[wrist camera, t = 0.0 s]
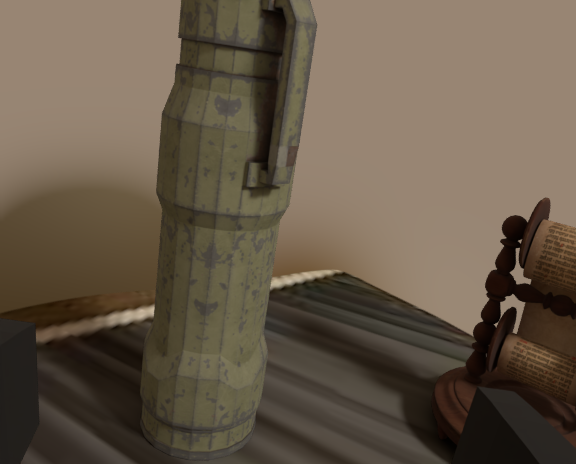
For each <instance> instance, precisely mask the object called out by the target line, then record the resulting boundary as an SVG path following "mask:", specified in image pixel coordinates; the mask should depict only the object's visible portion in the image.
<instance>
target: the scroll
mask: <svg viewBox="0 0 576 464" xmlns="http://www.w3.org/2000/svg"><path fill="white" fill-rule="evenodd" d="M549 213H550V200H549V198H544V199H543V200H541V201H540V202H539V203H538V204H537V206H536V207H535V209H534V211H533V212H532V214H531V217H530V219H529V221H528V222H527V221H526V220H525V219H524V218H523V217H521V216H517V215H514V216H510V217H508V218H507V219H506V220H505V221H504V223H503V225H502V231H503V234H504V235H505V237H506V239H501V241H500V242H501V243H502V244H503V245H504V247H503V249H502V250H501V252H500V254H499V255H498V257H497V259H496V262H495V265H496V268H497V270H493V271H491V272H490V274H489V275H488V278H487V280H486V283H485V288H486V290H487V292H488V293H487V294H486V295H487V297H488V298H489V301H488V302H487V304H486V305H485V306H484V308H483V310H482V312H481V318H482V319H483V322H480V323H478V324H477V325H476V326H475V328H474V330H473V335H474V338H475V340H476V341H477V342H475V343H473V344H472V347H473V349H475V351H474V352H473V353H472V354H471V356H470V357H469V358H468V360H467V362H466V366H465V367H459V368H455V369H452V370H450V371H448V372H446V373H444V374H443V375H442V376H441V377H440V378H439V379H438V380H437V382H436V384H435V387H434V392H433V395H432V400H431V404H432V410H433V413H434V416H435V418H436V420H437V422H438V435H439V437H440V439H446V438H447V437H449V438H450V439H451V440H452V441H453V442H454V443H455V444H456V445H458V442H459V439H460V436H461V433H462V430H463V427H464V424H465V421H466V418H467V415H468V412H469V409H470V406H471V403H472V400H473V397H474V395H475V392H476V389H477V386H478V387H485V388H492V389H499V390H506V391H513V392H515V393H517V394H518V395H519V396H520V397H521V398H522V399H524V400H525V401H526V402H527V403H528V404H529V405H530V406H532V407H533V408H534V409H535V410H536V411H537V412H538V413H539V414H540V415H541V416H542V417H543V418H545V419H546V420H547V421H548V422H549V423H550V424H551V425H552V426H553V427H554V428H555V429H556V430H557V431H558V432H559V433H560V434H561V435H562V436H564V437H565V438H566V439H567V440H568V441H569V442H570V443H571V444H572V445H573V446H574V447H575V448H576V228H575V227H571V226H567V225H563V224H560V223H556V222H553V221H549V220H548V218H549ZM521 239H522V242H521V244H520V243H519V242H518V240H521ZM516 248H520V251H519V264H520V266H521V268H523V269H524V272H523V275H524V277H526V278H528V279H531V284H530V285H529V284H526V283H524V284H518V285H517V284H516V281H515V280H514V278H513V276H512V275H511V274H510V273H509V272H511V271H512V270H513V269H514V268H515V265H516ZM512 294H514V295H515V296H516V297H517V298H518V300H520V301H522V302H526V303H525V307H524V310H523V314H522V318H521V321H520V325H519V328H518V332H517V334H515V333H512V332H513V329H514V325H515V321H516V314H517V311H516V308H515V307H511V308H510V309H508V310H507V311H506V312H505V313H504V314H503V316H502V317H501V319H500V316H501V310H500V302H502V301H505V299H506V298H505V297H506V296H511V295H512ZM499 319H500V321H499ZM498 321H499V323H498V325H497V327H495V325H494V324H495V323H497V322H498ZM488 345H489V346H488ZM486 353H487V357H486Z"/></svg>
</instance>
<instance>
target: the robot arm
mask: <svg viewBox="0 0 576 464" xmlns="http://www.w3.org/2000/svg"><path fill="white" fill-rule="evenodd" d="M38 425H39V402H38V377H37V353H36V328H35V323H30V322H23V321H16V320H9V319H2V318H0V464H20V463H21V461H22V459H23V457H24V455H25V453H26V451H27V449H28V446H29V444H30V442H31V440H32V438H33V436H34V434H35V432H36V430H37V427H38ZM451 464H576V448H575V447H574V446H573V445H572V444H571V443H570V442H569V441H568V440H567V439H566V438H565V437H564V436H562V435H561V434H560V433H559V432H558V431H557V430H556V429H555V428H554V427H553V426H552V425H551V424H550V423H549V422H548V421H547V420H546V419H545V418H543V417H542V416H541V415H540V414H539V413H538V412H537V411H536V410H535V409H534V408H533V407H532V406H530V405H529V404H528V403H527V402H526V401H525V400H524V399H522V398H521V397H520V396H519V395H518V394H517V393H515V392H513V391H506V390H499V389H492V388H485V387H478V386H477V389H476V392H475V395H474V397H473V400H472V403H471V406H470V409H469V412H468V415H467V418H466V421H465V424H464V427H463V430H462V433H461V436H460V439H459V442H458V445H457V448H456V451H455V454H454V457H453V460H452V463H451Z"/></svg>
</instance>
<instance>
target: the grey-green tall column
mask: <svg viewBox="0 0 576 464" xmlns="http://www.w3.org/2000/svg"><path fill="white" fill-rule="evenodd" d="M179 24H180V25H179V35H178V36H179V37H178V38H182V40H181V53H180V64H176V71H175V83H174V85H173V88H172V90H171V93H170V95H169V98H168V100H167V102H166V105H165V107H164V110H163V113H162V121H161V135H160V148H159V162H158V175H157V188H156V192H157V196H158V198H159V201H160V204H161V206H162V221H161V234H160V246H159V247H160V248H159V259H158V273H157V285H156V297H155V310H154V320H153V322H152V324H151V327H150V329H149V331H148V333H147V335H146V337H145V342H144V348H143V362H142V375H141V389H140V396H141V398H142V401H143V406H142V412H141V419H140V426H141V429H142V432H143V434H144V437H145V438H146V439H147V440H148V441H149V442H150V443H151V444H152V445H153V446H154V447H155V448H157V449H159V450H161V451H163V452H164V453H166V454H168V455H170V456H175V457H179V458H183V459H187V460H211V459H215V458H220V457H224V456H228V455H230V454H232V453H233V452H235V451H237V450H239V449H241V448H242V447H243V446H244V445H245V444H246V443H247V442H248V441H249V440H250V439H251V437H252V434H253V431H254V428H255V422H256V419H255V415H256V410H257V409H258V406H259V403H260V400H261V396H262V390H263V383H264V376H265V370H266V363H267V357H268V350H267V346H266V341H265V337H264V333H263V332H264V326H265V319H266V312H267V305H268V298H269V292H270V285H271V278H272V270H273V264H274V257H275V251H276V244H277V237H278V230H279V223H280V219H281V218H282V216H283V214H284V213H285V211H286V209H287V208H288V206H289V203H290V197H291V191H292V184H293V177H294V170H295V164H296V157H297V151H298V147H299V142H300V135H301V128H302V121H303V115H304V108H305V101H306V95H307V89H308V81H309V75H310V69H311V62H312V55H313V48H314V41H315V36H316V28H317V23H316V19H315V16H314V12H313V9H312V6H311V2H310V0H181V10H180V23H179Z"/></svg>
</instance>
